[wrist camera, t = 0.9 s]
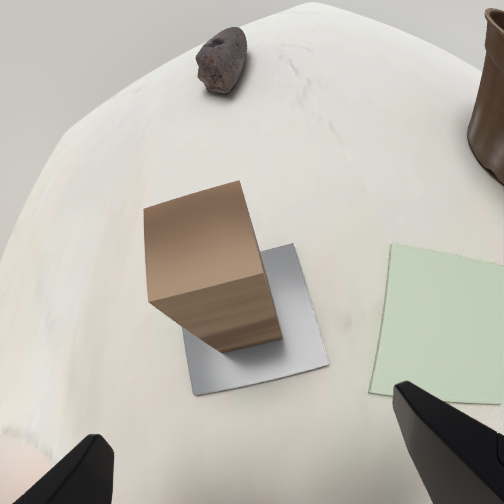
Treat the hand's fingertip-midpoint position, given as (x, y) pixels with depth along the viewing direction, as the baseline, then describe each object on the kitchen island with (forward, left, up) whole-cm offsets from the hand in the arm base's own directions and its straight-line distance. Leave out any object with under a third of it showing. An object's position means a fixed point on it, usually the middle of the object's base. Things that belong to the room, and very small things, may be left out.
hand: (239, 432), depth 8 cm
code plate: (+6, +4, -14) cm, 16 cm away
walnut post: (+6, +4, -14) cm, 16 cm away
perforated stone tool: (+38, +17, -15) cm, 45 cm away
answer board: (+9, -12, -14) cm, 21 cm away
